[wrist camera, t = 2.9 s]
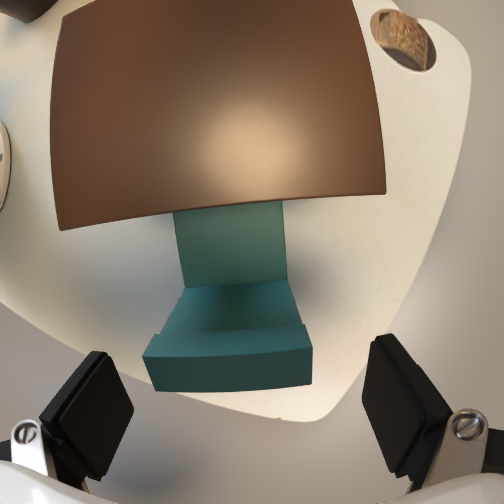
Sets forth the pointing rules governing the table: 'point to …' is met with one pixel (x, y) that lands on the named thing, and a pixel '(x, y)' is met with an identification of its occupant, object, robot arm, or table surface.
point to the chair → (231, 307)
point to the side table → (210, 107)
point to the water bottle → (25, 8)
